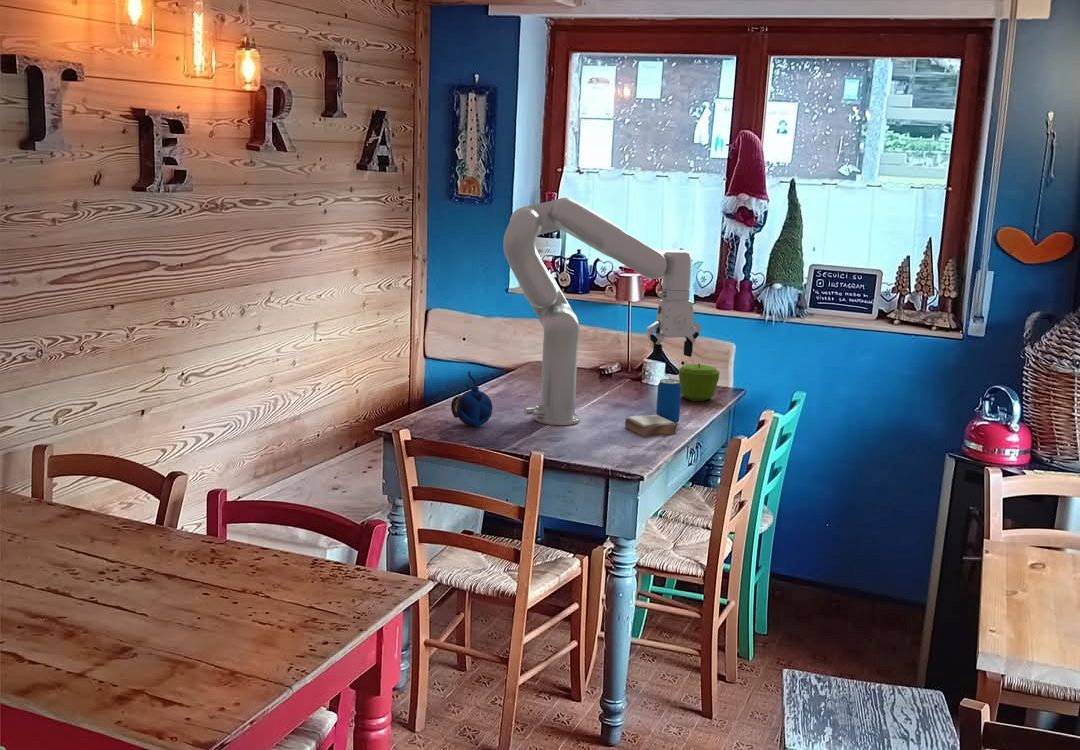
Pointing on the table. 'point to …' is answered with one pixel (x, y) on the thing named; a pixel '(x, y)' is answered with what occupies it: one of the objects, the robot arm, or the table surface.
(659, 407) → the beverage can
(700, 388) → the apple
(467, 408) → the bomb
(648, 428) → the pedestal
